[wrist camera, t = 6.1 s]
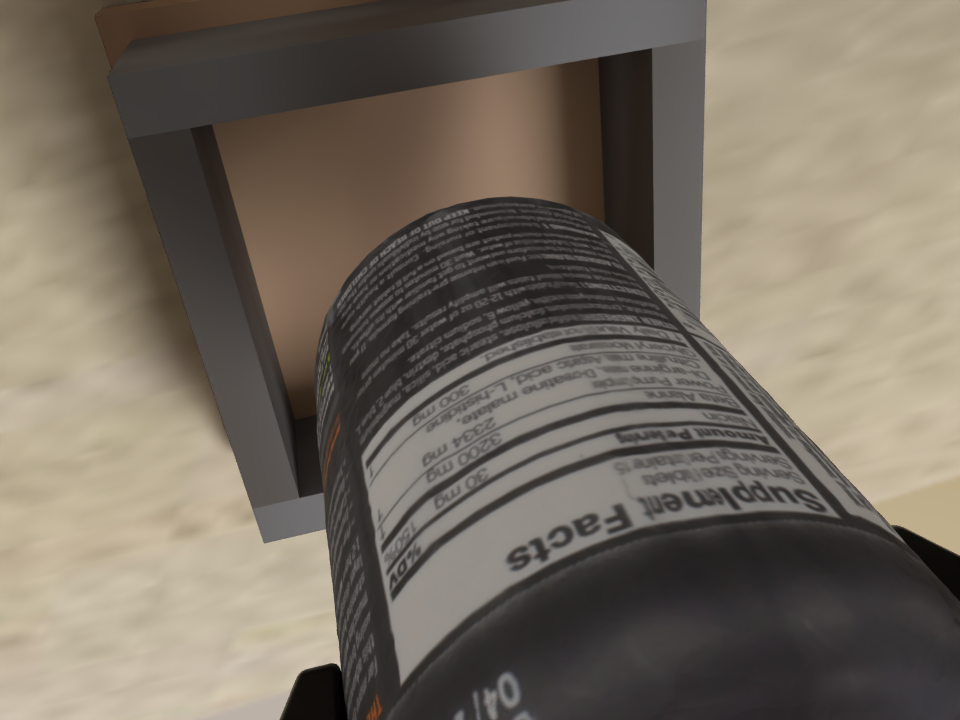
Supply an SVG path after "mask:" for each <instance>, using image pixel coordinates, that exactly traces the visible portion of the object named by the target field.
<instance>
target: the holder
mask: <svg viewBox="0 0 960 720" xmlns="http://www.w3.org/2000/svg"><path fill="white" fill-rule="evenodd" d="M706 8H707V0H151V1H144V2H138V3H132V4H125V5H119V6H112V7H106V8H102V9H101V10H100V11H99V12H98V13H97V14H96V15H95V16H94V17H95V20H96V23H97V26H98V29H99V32H100V35H101V38H102V41H103V44H104V47H105V50H106V53H107V56H108V59H109V62H110V65H111V68H112V70H111V71H110V73H109V74H108V76H107V78H108V81H109V84H110V87H111V90H112V93H113V96H114V99H115V102H116V105H117V108H118V111H119V114H120V117H121V120H122V123H123V126H124V129H125V132H126V135H127V138H128V141H129V144H130V147H131V150H132V153H133V156H134V158H135V161H136V164H137V167H138V170H139V173H140V176H141V179H142V182H143V185H144V188H145V191H146V194H147V197H148V200H149V203H150V206H151V209H152V212H153V215H154V218H155V221H156V224H157V227H158V230H159V233H160V236H161V239H162V242H163V245H164V248H165V251H166V254H167V257H168V260H169V262H170V265H171V268H172V271H173V274H174V277H175V280H176V283H177V286H178V289H179V292H180V295H181V298H182V301H183V304H184V307H185V310H186V313H187V316H188V319H189V322H190V325H191V328H192V331H193V334H194V337H195V340H196V343H197V346H198V349H199V352H200V355H201V358H202V361H203V363H204V366H205V369H206V372H207V375H208V378H209V381H210V384H211V387H212V390H213V393H214V396H215V399H216V402H217V405H218V408H219V411H220V414H221V417H222V420H223V423H224V426H225V429H226V432H227V435H228V438H229V441H230V444H231V447H232V450H233V453H234V456H235V459H236V462H237V464H238V467H239V470H240V473H241V476H242V479H243V482H244V485H245V488H246V491H247V494H248V497H249V500H250V503H251V506H252V509H253V512H254V515H255V518H256V521H257V524H258V527H259V530H260V533H261V536H262V539H263V542H264V543H268V542H272V541H277V540H281V539H285V538H290V537H294V536H298V535H303V534H307V533H311V532H315V531H320V530H324V529H326V525H325V505H324V493H323V484H322V475H321V466H320V459H319V448H318V439H317V406H316V399H315V388H314V370H315V359H316V354H317V348H318V343H319V339H320V335H321V331H322V327H323V323H324V319H325V316H326V314H327V312H328V310H329V308H330V306H331V304H332V303H333V301H334V299H335V298H336V296H337V294H338V293H339V291H340V289H341V287H342V286H343V284H344V282H345V281H346V279H347V278H348V277H349V275H350V274H351V273H352V272H353V271H354V269H355V268H356V267H357V266H358V265H359V264H360V263H361V262H362V260H363V259H364V258H365V257H366V256H367V255H368V254H369V253H370V252H371V251H372V250H374V249H375V248H376V247H377V246H378V245H380V244H381V243H382V242H383V241H384V240H386V239H387V238H388V237H389V236H390V235H392V234H394V233H395V232H397V231H398V230H400V229H402V228H403V227H405V226H406V225H408V224H410V223H412V222H413V221H415V220H417V219H419V218H421V217H423V216H424V215H426V214H428V213H431V212H433V211H436V210H438V209H443V208H448V207H450V206H452V205H455V204H459V203H464V202H470V201H475V200H480V199H485V198H493V197H508V196H514V197H528V198H538V199H543V200H548V201H552V202H556V203H561V204H564V205H567V206H569V207H572V208H575V209H577V210H579V211H581V212H584V213H586V214H588V215H590V216H592V217H594V218H596V219H598V220H599V221H601V222H602V223H604V224H605V225H607V226H608V227H609V228H611V229H612V230H613V231H615V232H616V233H617V234H618V235H619V236H620V237H621V238H622V239H623V240H624V241H625V242H626V243H627V244H628V245H630V246H631V247H632V248H633V249H634V250H635V251H636V252H637V253H638V254H639V255H640V256H641V257H642V258H643V259H644V260H645V262H646V263H647V264H648V265H649V266H650V267H651V268H652V270H653V271H654V272H655V273H656V274H657V275H658V276H659V277H660V278H661V279H662V280H663V281H664V283H665V284H666V285H667V286H668V287H669V288H670V289H671V290H672V291H673V292H674V293H675V294H676V295H677V296H678V297H679V298H680V299H681V300H682V301H683V302H684V303H685V305H686V306H687V307H688V308H689V309H690V310H691V311H692V312H693V314H694V315H695V316H696V317H697V318H698V319H699V320H700V279H701V234H702V189H703V144H704V99H705V54H706Z"/></svg>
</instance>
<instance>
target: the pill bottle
mask: <svg viewBox="0 0 960 720" xmlns="http://www.w3.org/2000/svg"><path fill="white" fill-rule="evenodd" d="M314 388H315V399H316V406H317V439H318V448H319V459H320V466H321V475H322V484H323V493H324V505H325V525H326V532H327V540H328V547H329V554H330V566H331V577H332V583H333V593H334V603H335V614H336V622H337V635H338V640H339V650H340V662H341V673H342V681H343V691H344V700H345V709H346V718H347V720H960V602H959V601H958V599H957V598H956V597H955V596H954V595H953V594H952V593H951V591H950V590H949V589H948V588H947V587H946V586H945V585H944V584H943V583H942V582H941V581H940V580H939V579H938V578H937V577H936V575H935V574H934V573H933V572H932V571H931V570H930V569H929V568H928V567H927V566H926V565H925V564H924V563H923V561H922V560H921V559H920V557H919V556H918V555H917V554H916V553H915V552H914V551H913V550H912V549H911V548H910V547H909V546H908V545H907V544H906V543H905V542H904V540H903V539H902V538H901V537H900V536H899V535H898V533H897V532H896V531H895V530H894V529H893V528H892V526H891V525H890V524H889V523H888V522H887V521H886V520H885V518H884V517H883V516H882V515H881V514H880V513H879V512H878V511H876V510H875V508H874V507H873V506H872V505H871V504H870V502H869V501H868V500H867V499H866V498H865V497H864V496H863V495H862V494H861V493H860V492H859V491H858V489H857V488H856V487H855V486H854V485H853V484H852V483H851V482H850V481H849V480H848V479H847V478H846V477H845V476H844V475H843V474H842V473H841V472H840V471H839V470H838V468H837V467H836V466H835V465H834V464H833V463H832V462H831V461H830V460H829V458H828V457H827V456H826V455H825V454H824V453H823V452H822V451H821V450H820V449H819V447H818V446H817V445H816V444H815V443H814V442H813V441H812V440H811V439H810V438H809V437H808V436H807V435H806V434H805V433H804V432H803V431H802V430H801V429H800V428H799V427H798V426H797V425H796V424H795V423H794V421H793V420H792V419H791V418H790V417H789V416H788V414H787V413H786V412H785V411H784V410H783V409H782V408H781V407H780V406H779V405H778V404H777V403H776V402H775V401H774V399H773V398H772V397H771V396H770V395H769V393H768V392H767V391H766V390H765V389H763V388H762V387H761V386H760V385H759V383H758V382H757V381H756V380H755V379H754V378H753V377H752V376H751V375H750V374H749V373H748V372H747V371H746V370H745V369H744V367H743V366H742V365H741V364H740V363H739V362H738V361H737V360H736V359H735V358H734V357H733V356H732V355H731V354H730V353H729V352H728V351H727V350H726V348H725V347H724V346H723V345H722V344H721V343H720V342H719V340H718V339H717V338H716V337H715V336H714V335H713V334H712V333H711V332H710V331H709V330H708V329H707V328H706V327H705V326H704V325H703V324H702V322H701V321H700V320H699V319H698V318H697V317H696V316H695V315H694V314H693V312H692V311H691V310H690V309H689V308H688V307H687V306H686V305H685V303H684V302H683V301H682V300H681V299H680V298H679V297H678V296H677V295H676V294H675V293H674V292H673V291H672V290H671V289H670V288H669V287H668V286H667V285H666V284H665V283H664V281H663V280H662V279H661V278H660V277H659V276H658V275H657V274H656V273H655V272H654V271H653V270H652V268H651V267H650V266H649V265H648V264H647V263H646V262H645V260H644V259H643V258H642V257H641V256H640V255H639V254H638V253H637V252H636V251H635V250H634V249H633V248H632V247H631V246H630V245H628V244H627V243H626V242H625V241H624V240H623V239H622V238H621V237H620V236H619V235H618V234H617V233H616V232H615V231H613V230H612V229H611V228H609V227H608V226H607V225H605V224H604V223H602V222H601V221H599V220H598V219H596V218H594V217H592V216H590V215H588V214H586V213H584V212H581V211H579V210H577V209H575V208H572V207H569V206H567V205H564V204H561V203H556V202H552V201H548V200H543V199H538V198H528V197H514V196H508V197H493V198H485V199H480V200H475V201H470V202H464V203H459V204H455V205H452V206H450V207H448V208H443V209H438V210H436V211H433V212H431V213H428V214H426V215H424V216H423V217H421V218H419V219H417V220H415V221H413V222H412V223H410V224H408V225H406V226H405V227H403V228H402V229H400V230H398V231H397V232H395V233H394V234H392V235H390V236H389V237H388V238H387V239H386V240H384V241H383V242H382V243H381V244H380V245H378V246H377V247H376V248H375V249H374V250H372V251H371V252H370V253H369V254H368V255H367V256H366V257H365V258H364V259H363V260H362V262H361V263H360V264H359V265H358V266H357V267H356V268H355V269H354V271H353V272H352V273H351V274H350V275H349V277H348V278H347V279H346V281H345V282H344V284H343V286H342V287H341V289H340V291H339V293H338V294H337V296H336V298H335V299H334V301H333V303H332V304H331V306H330V308H329V310H328V312H327V314H326V316H325V319H324V323H323V327H322V331H321V335H320V339H319V343H318V348H317V354H316V359H315V370H314Z"/></svg>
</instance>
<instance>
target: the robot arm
mask: <svg viewBox="0 0 960 720" xmlns="http://www.w3.org/2000/svg"><path fill="white" fill-rule="evenodd" d="M891 526H892V528H893V529H894V530H895V531H896V532H897V533H898V535H899V536H900V537H901V538H902V539H903V540H904V542H905V543H906V544H907V545H908V546H909V547H910V548H911V549H912V550H913V551H914V552H915V553H916V554H917V555H918V556H919V557H920V559H921V560H922V561H923V563H924V564H925V565H926V566H927V567H928V568H929V569H930V570H931V571H932V572H933V573H934V574H935V575H936V577H937V578H938V579H939V580H940V581H941V582H942V583H943V584H944V585H945V586H946V587H947V588H948V589H949V590H950V591H951V593H952V594H953V595H954V596H955V597H956V598H957V599H958V601H959V602H960V555H958V554H955V553H954V552H952V551H949V550H948V549H946V548H943V547H942V546H939V545H938V544H936V543H934V542H932V541H930V540H927V539H926V538H924V537H922V536H920V535H918V534H916V533H914V532H912V531H910V530H908V529H906V528H903V527H901V526H897V525H891ZM280 720H347V718H346V709H345V700H344V691H343V681H342V673H341V670H340V668H339V666H338V665H337V664H334V663H330V664H326V665H322V666H318V667H314V668H310V669H306V670H304V671H302V672H301V673H300V674H299V675H298V676H297V678H296V681H295V683H294V685H293V688H292V690H291V693H290V695H289V698H288V700H287V703H286V706H285V708H284V710H283V713H282V715H281V718H280Z"/></svg>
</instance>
